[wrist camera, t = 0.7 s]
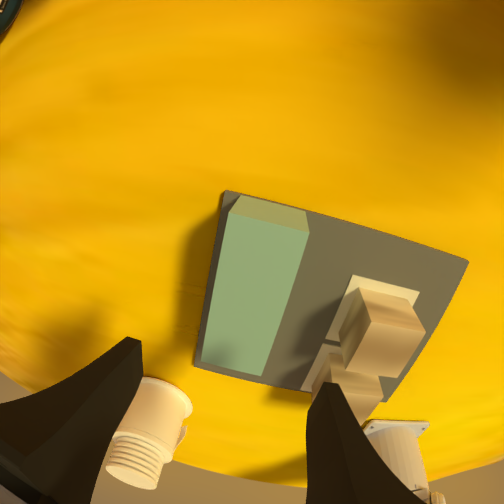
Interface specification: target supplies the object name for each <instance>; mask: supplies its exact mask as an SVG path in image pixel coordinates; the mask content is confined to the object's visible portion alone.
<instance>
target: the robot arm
mask: <svg viewBox="0 0 504 504" xmlns="http://www.w3.org/2000/svg"><path fill="white" fill-rule="evenodd" d="M142 377H143V362H142V344H141V341H140V340H137V339H134V338H131V337H126V338H124V339H123V340H122V341H120V342H119V343H118V344H116V345H115V346H114V347H112V348H111V349H110V350H108V351H107V352H106V353H104V354H103V355H102V356H100V357H99V358H97V359H96V360H95V361H93V362H92V363H90V364H89V365H87V366H86V367H84V368H83V369H81V370H80V371H78V372H76V373H75V374H73V375H72V376H70V377H68V378H66V379H65V380H63V381H61V382H59V383H57V384H55V385H53V386H51V387H49V388H47V389H44V390H42V391H40V392H37V393H35V394H32V395H30V396H27V397H23V398H20V399H17V400H14V401H10V402H6V403H1V404H0V504H90V502H91V497H92V494H93V490H94V487H95V483H96V480H97V477H98V474H99V471H100V468H101V465H102V462H103V459H104V457H105V454H106V451H107V449H108V446H109V444H110V441H111V439H112V437H113V435H114V433H115V432H116V430H117V428H118V426H119V424H120V422H121V421H122V419H123V417H124V415H125V413H126V412H127V410H128V408H129V406H130V404H131V403H132V401H133V399H134V397H135V395H136V393H137V390H138V388H139V385H140V383H141V380H142ZM429 425H430V424H429V422H428V421H390V420H371V421H370V422H369V423H368V424H367V425H366V427H365V428H364V429H363V430H362V428H361V426H360V424H359V422H358V421H357V419H356V417H355V415H354V413H353V411H352V409H351V407H350V406H349V404H348V402H347V400H346V397H345V395H344V393H343V391H342V389H341V387H340V385H339V384H338V383H331V382H323V384H322V386H321V388H320V390H319V392H318V393H317V395H316V397H315V399H314V401H313V403H312V405H311V407H310V408H309V410H308V413H307V424H306V452H307V478H308V482H307V497H306V504H446V502H445V498H444V496H443V494H441V493H438V492H434V493H432V494H431V492H430V491H429V487H428V482H427V478H426V473H425V469H424V465H423V461H422V457H421V453H420V449H419V445H418V441H417V438H418V437H419V436H420V435H421V434H422V433H423V432H424V431H425V430H426V429H427V428H428V427H429Z"/></svg>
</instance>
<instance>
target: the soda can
mask: <svg viewBox="0 0 504 504" xmlns="http://www.w3.org/2000/svg"><path fill="white" fill-rule="evenodd" d="M23 1H24V0H0V34H2V33H3V32H5V31H6V30H7V29H8V28H9V27H10V25H11V24H12V23H13V21H14V20H15V18H16V17H17V15H18V13H19V11H20V9H21V7H22V4H23Z"/></svg>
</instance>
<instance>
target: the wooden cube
mask: <svg viewBox="0 0 504 504" xmlns="http://www.w3.org/2000/svg"><path fill="white" fill-rule="evenodd" d="M323 382H331V383H338V384H339V385H340V387H341V389H342V391H343V393H344V395H345V397H346V400H347V402H348V404H349V406H350V407H351V409H352V411H353V413H354V415H355V417H356V419H357V421H358V422H359V424H360V426H361V425H362V424H363V423H364V422H365V420H366V419H367V418H368V417H369V415H370V414H371V413H372V412H373V410H374V409H375V408H376V406H377V405H378V404H379V402H380V401H381V400H382V398H383V397H384V396H383V392H382V388H381V385H380V381H379V377H378V375H370V374H363V373H356V372H350V371H345V367H344V362H343V356H342V355H338V354H333V353H328V355H327V357H326V359H325V361H324V363H323V365H322V367H321V369H320V371H319V373H318V375H317V377H316V378H315V380H314V382H313V384H312V386H311V388H312V403H313V401H314V399H315V397H316V395H317V393H318V392H319V390H320V388H321V386H322V384H323Z"/></svg>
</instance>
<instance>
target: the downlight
mask: <svg viewBox="0 0 504 504" xmlns="http://www.w3.org/2000/svg"><path fill="white" fill-rule="evenodd" d="M192 409H193V406H192V403H191V401H190V399H189V398H188V396H187V395H186V394H185V393H184V392H182V391H181V390H180V389H178V388H177V387H175V386H174V385H172V384H170V383H168V382H165V381H163V380H160V379H156V378H151V377H142V380H141V383H140V385H139V388H138V390H137V393H136V395H135V397H134V399H133V401H132V403H131V404H130V406H129V408H128V410H127V412H126V413H125V415H124V417H123V419H122V421H121V422H120V424H119V426H118V428H117V430H116V432H115V433H114V435H113V437H112V440H113V441H114V443H115V446H114V449H113V451H112V454H111V456H110V459H109V460H108V464H107V465H106V470H107V471H108V472H109V473H110V474H111V475H112V476H114V477H116V478H117V479H119V480H121V481H123V482H125V483H127V484H130V485H132V486H135V487H139V488H143V489H151V490H152V489H156V487H157V483H158V480H159V476H160V473H161V470H162V467H163V463H168V462H170V461H171V460H172V457H173V453H174V451H175V449H176V448H177V446H178V445H179V444H180V442H181V441H182V439H183V438H184V436H185V433H186V429H187V426H183V427H181V426H182V422H183V419H185V418H187V417H188V416H189V415H190V414H191V413H192ZM180 429H181V431H180ZM179 433H180V435H179ZM178 436H179V438H178Z"/></svg>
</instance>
